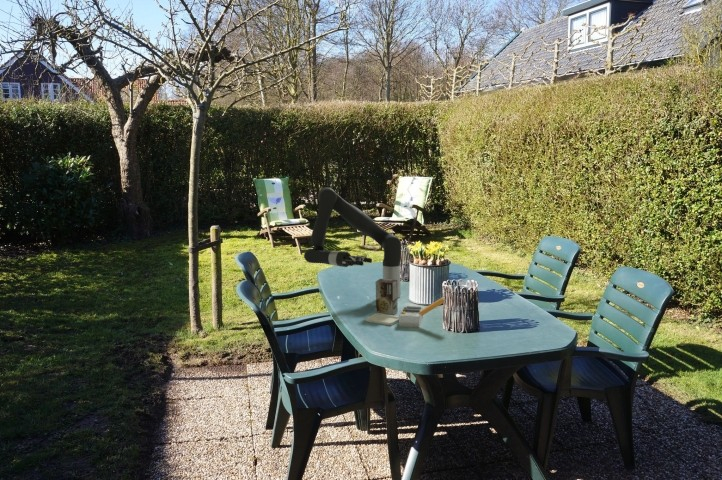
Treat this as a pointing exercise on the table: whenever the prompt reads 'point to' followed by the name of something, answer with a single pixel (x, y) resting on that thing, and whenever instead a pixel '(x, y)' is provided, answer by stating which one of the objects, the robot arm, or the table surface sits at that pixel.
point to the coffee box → (386, 296)
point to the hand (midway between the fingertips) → (367, 261)
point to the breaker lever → (432, 306)
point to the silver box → (410, 316)
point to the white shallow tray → (383, 319)
